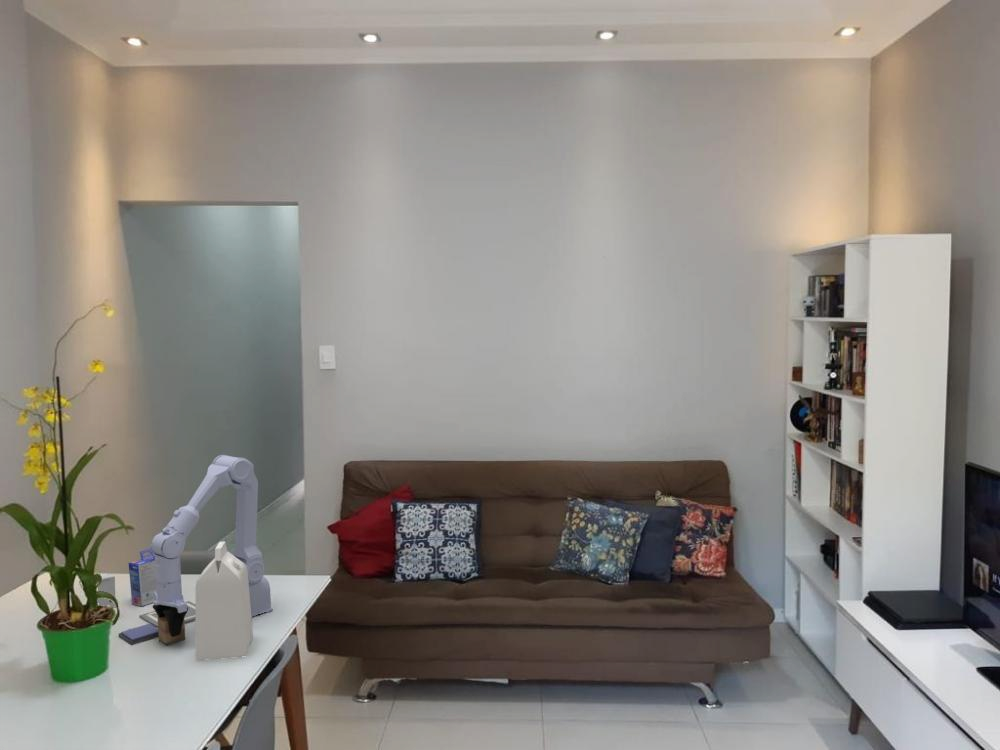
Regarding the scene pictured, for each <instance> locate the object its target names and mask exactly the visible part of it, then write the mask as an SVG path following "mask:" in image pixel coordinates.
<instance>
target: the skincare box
mask: <svg viewBox="0 0 1000 750" xmlns="http://www.w3.org/2000/svg"><path fill="white" fill-rule="evenodd" d="M99 574H100V573H99ZM100 575H101V576H102V582H101V584H100V585H99V586H98V591H105V592H108V593H110V594H112V595H113V596H114V597H115V598H116V576H115V574H114V573H113V572H107V573H102V574H100ZM98 603H99V605H104V606H107V605H110V606H113V607H114V606H115V604H114V603H113V602H112V601H111V600H108V599H104V598H99V599H98Z"/></svg>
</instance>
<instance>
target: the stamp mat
mask: <svg viewBox="0 0 1000 750" xmlns="http://www.w3.org/2000/svg"><path fill="white" fill-rule="evenodd" d="M185 603H187V607H188V611H187V613H186V615H185V617H184V622H185V624H189V623H192V622H196V620H195V603H194V602H192V601H190V600H188V601H185ZM138 617H139V619H141V620H142V621H145V622H146V623H147V624H150V625H152V626H154V627H155V628H157V629H158V615H157V613H156V612H155V610H153V611H150V612H147V613H143V614H140V615H139V616H138Z"/></svg>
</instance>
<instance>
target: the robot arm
mask: <svg viewBox="0 0 1000 750" xmlns="http://www.w3.org/2000/svg"><path fill="white" fill-rule="evenodd" d="M254 469H255V464H254V463H252V462H251V461H250V460H249V459H247V458H245V457H235V456H230V455H227V454H220V455H217V456H216V457H215V458H214V459H213V461H212V463H211V464H210V465H209V466H208V468H207V472H206V475H205V477H204V478H203V480H202V482H201V483H200V485H199V486H198V488H197V489H196V491H195V493H194V494H193V496H192V497H191V498H190V500H189V502H188V503H187V504H186V505H184V506H180V507H179V508H178V509H175V511H174V512H173V516H172V518H171V519H170V520H169V521H168V523H167V525H166V526H165V527H163V529H162V532H159V533H157V534H156V535H154V537H153V538H152V540H151V544H150V545H149V549H150V550H151V552H152V553H153V555H155V564H156V582H157V591H156V592H153V593H154V601H153V603H152V608H153V611H155V612H156V613H157V615H158V618H160V617H164V616H166V618H167V621H168V624H169V630H170V634H171V636H172V637H174V636H178V635H180V633H181V629H182V624H183V620H184V617H185V615H186V613H187V611H188V607H187V603H185V602H186V601H185V598H184V596H183V591H182V590H183V589H182V572H181V571H182V569H181V554H182V553H183V551H184V550H185V543H186V541H187V537H188V536H189V535H190V533H191V532H192V530H193V529H194V528H195V527H196V525H197V524H198V522H199V521H200V512H201V511H202V509H203V508H204V507H205V506H206V504H207V503H208V502H209V501H210V500H211V498H212V497H213V496H214V495H215V493H216V492H218V490H219V489H220V488H223V487H224V488H225V487H227V486H232V487H234V488H235V489H236V502H235V503H236V509H235V510H236V512H235V537H234V538H235V540H234V542H235V545H234V547H232V549H231V550H230V551H229V553H231V554H232V555H233V556H235V557H236V558H237V559H239V560H240V561H242V562H243V563H244V564H245V565H246V567H247V570H248V581H249V593H250V606H251V618H252V617H253V616H254V617H257V616H259V615H258V614H260V615H262V614H261V613H263V614H265V613H264V612H266V613H268V612H267V611H269V612H271V611H270V610H272V609H273V608H272V601H271V600H272V599H271V595H272V594H271V585H270V582H269V580H268V578H266V577H265V576H264V575H265V573H266V571H265V570H266V568H265V563H264V561H263V554H262V552H261V551H260V549H259V548H258V546H257V531H258V529H257V528H258V524H257V523H258V496H259V495H258V493H259V481H258V478H257V476H256V474H255V470H254ZM272 611H273V610H272ZM256 615H257V616H256Z"/></svg>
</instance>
